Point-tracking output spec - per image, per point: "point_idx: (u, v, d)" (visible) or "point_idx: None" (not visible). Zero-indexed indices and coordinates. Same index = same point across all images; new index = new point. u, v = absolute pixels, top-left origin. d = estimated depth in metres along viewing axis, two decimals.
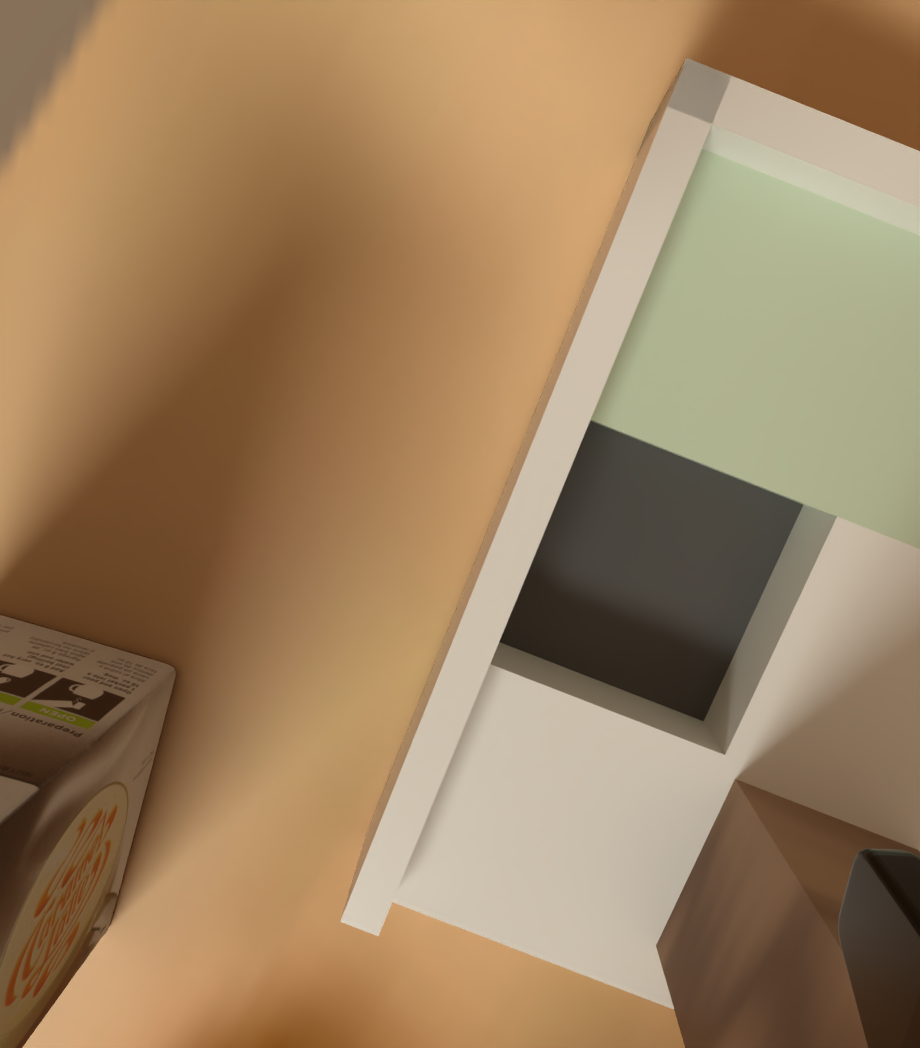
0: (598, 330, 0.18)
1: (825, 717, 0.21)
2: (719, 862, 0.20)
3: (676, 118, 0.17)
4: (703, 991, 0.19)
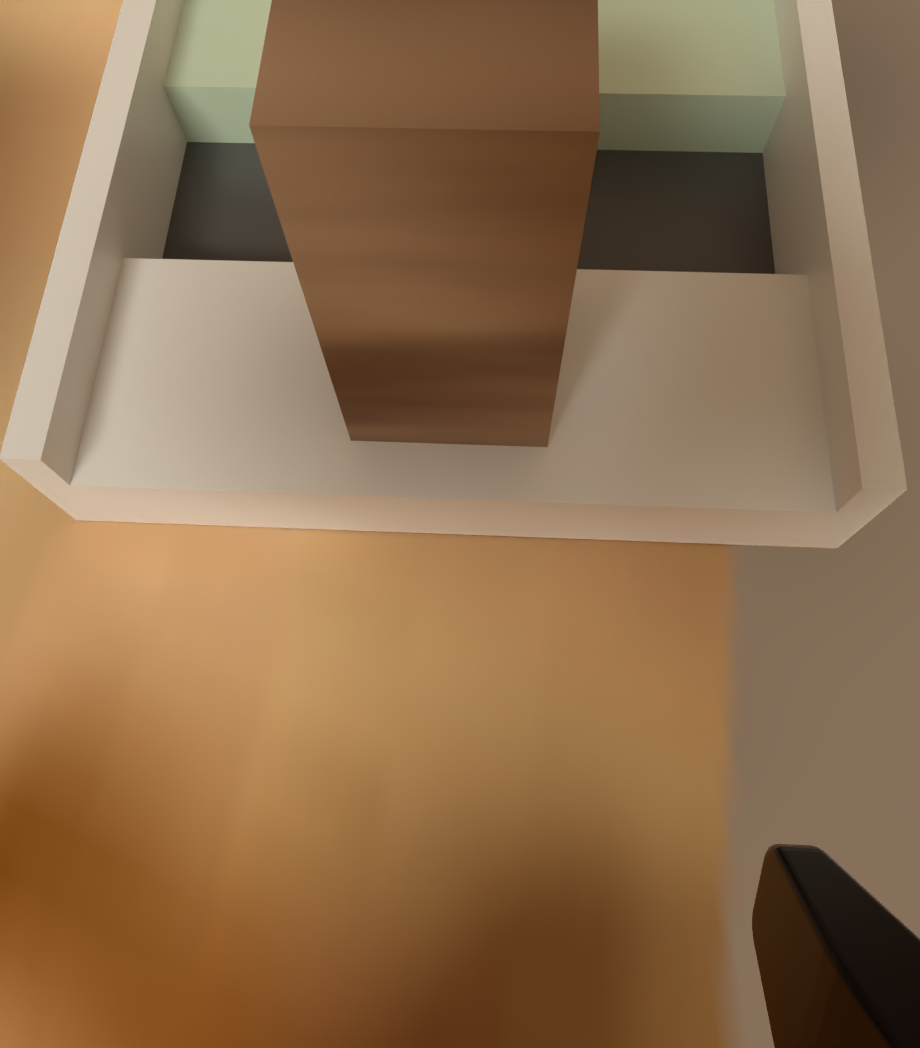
0: None
1: None
2: None
3: None
4: None
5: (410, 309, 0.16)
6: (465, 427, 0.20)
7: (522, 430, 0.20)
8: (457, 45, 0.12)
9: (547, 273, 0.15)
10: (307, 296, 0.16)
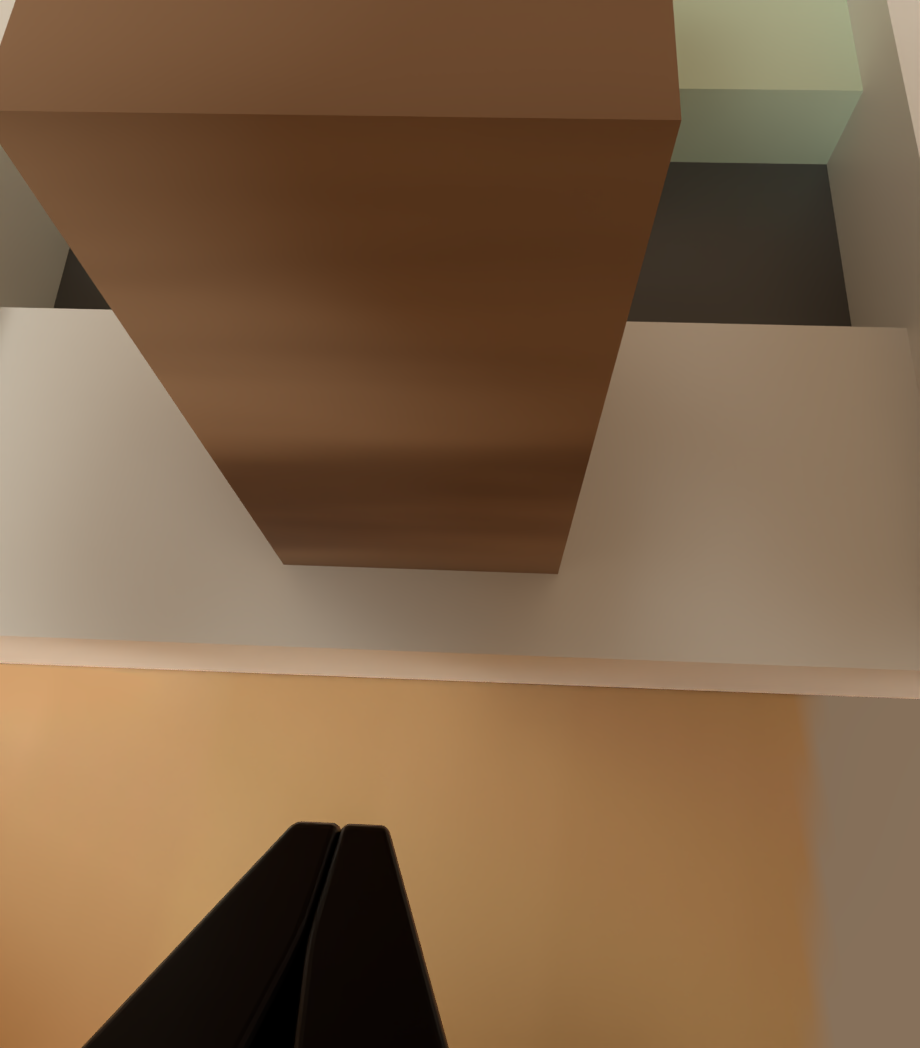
0: None
1: None
2: None
3: None
4: None
5: (343, 415, 0.10)
6: (442, 553, 0.14)
7: (523, 557, 0.14)
8: None
9: (566, 366, 0.09)
10: (175, 396, 0.10)
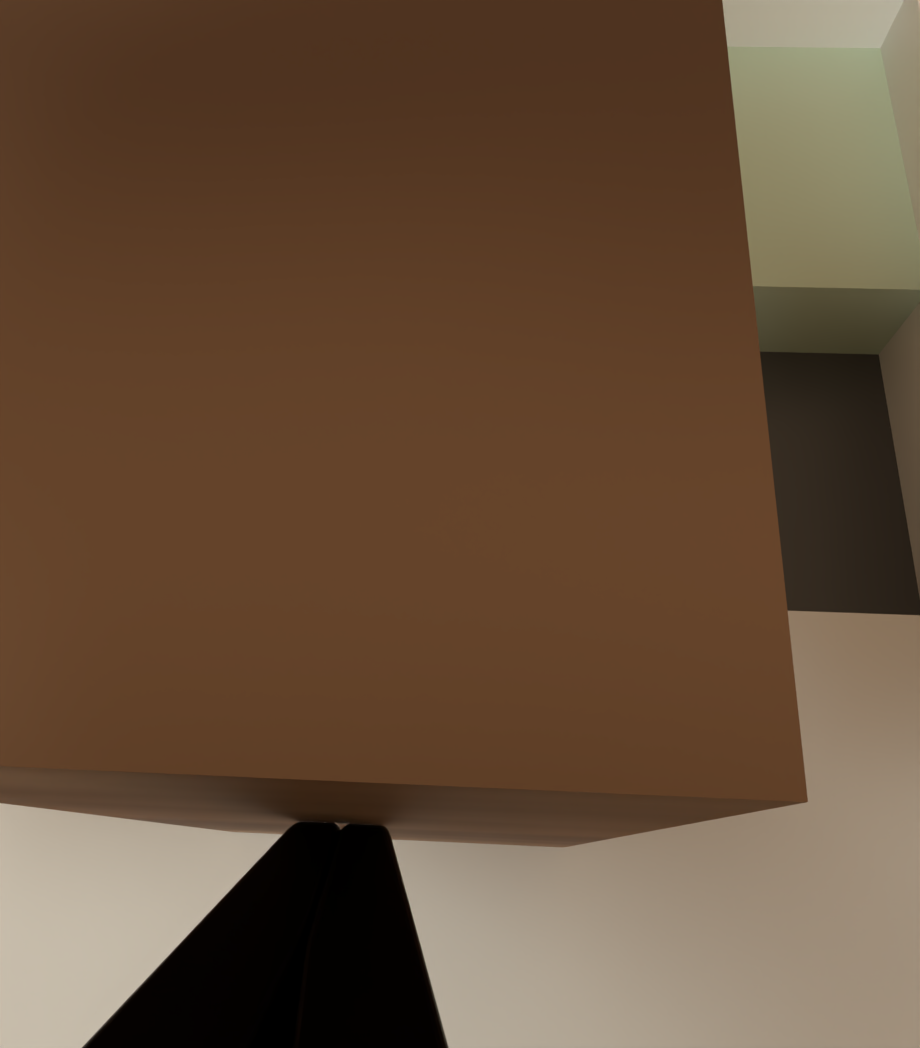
0: None
1: None
2: None
3: None
4: None
5: (275, 819, 0.07)
6: (422, 839, 0.12)
7: (521, 843, 0.12)
8: (310, 408, 0.04)
9: (581, 827, 0.06)
10: None
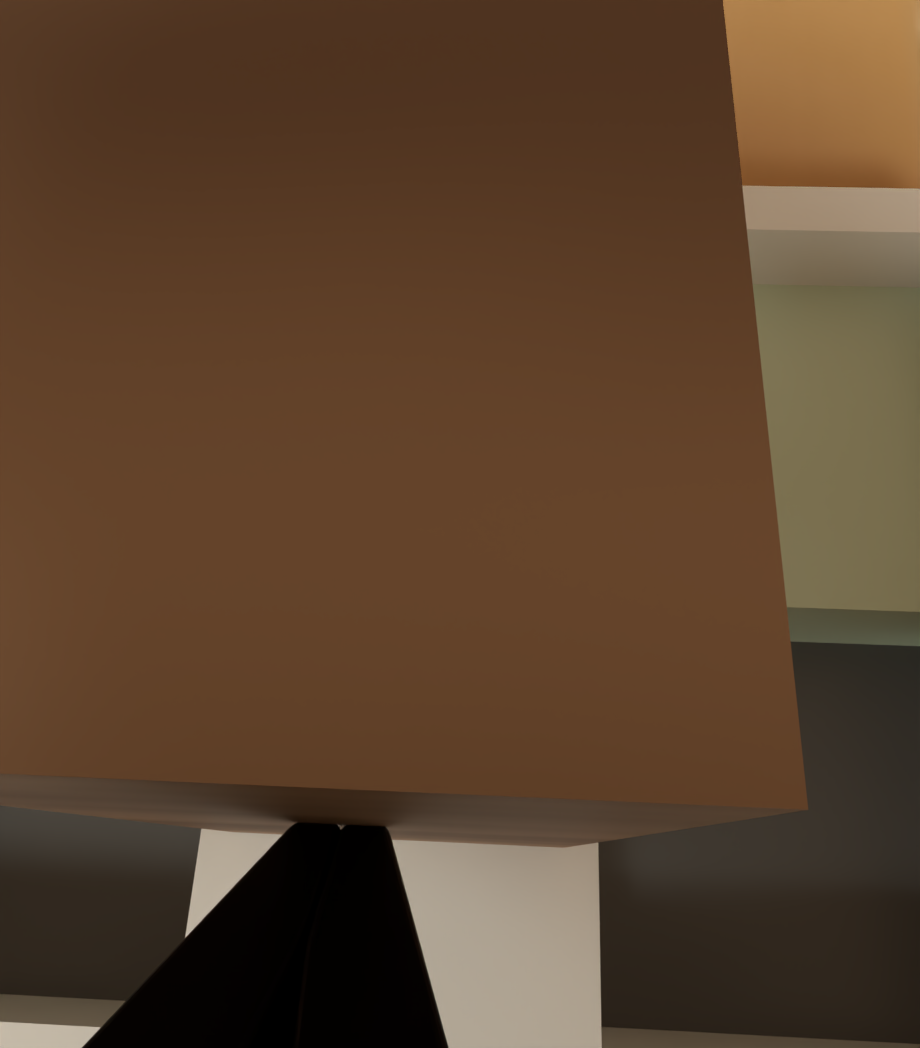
0: None
1: None
2: None
3: None
4: None
5: (276, 822, 0.07)
6: (422, 840, 0.12)
7: (522, 844, 0.12)
8: (310, 418, 0.04)
9: (582, 831, 0.06)
10: (44, 810, 0.07)
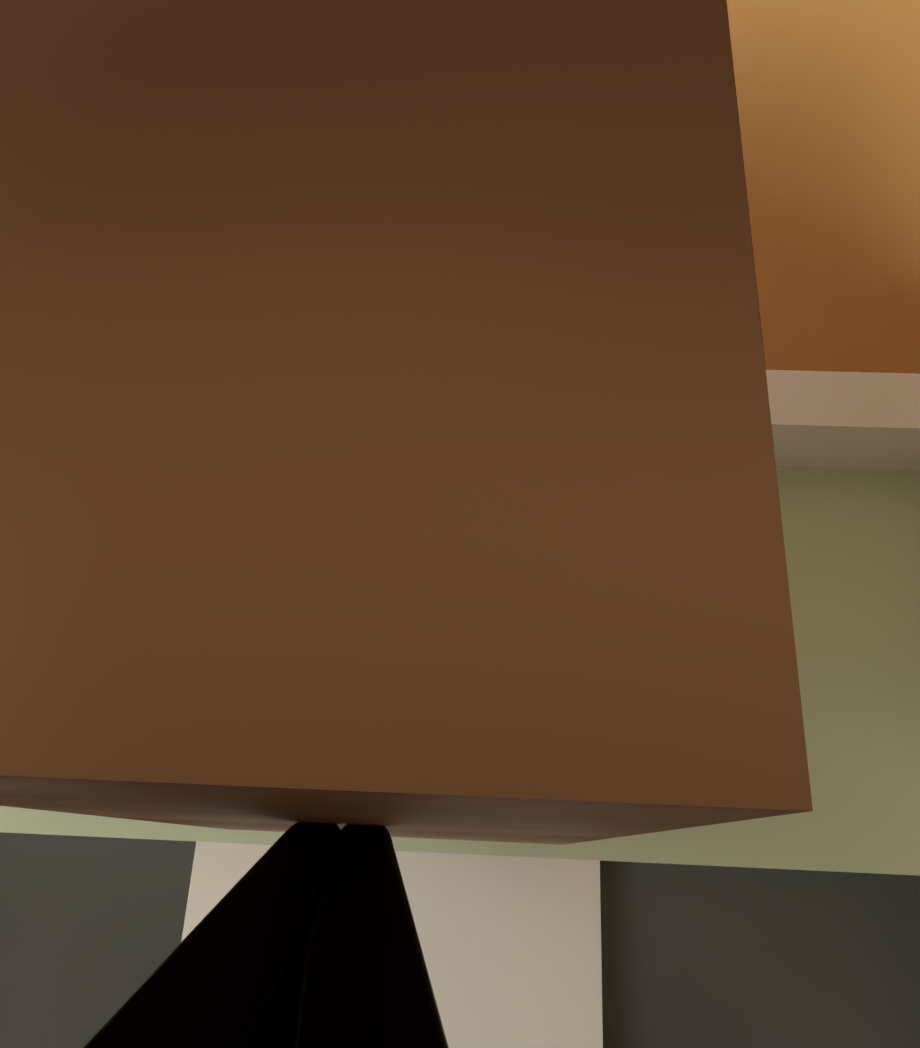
0: None
1: None
2: None
3: None
4: None
5: (270, 820, 0.07)
6: None
7: None
8: (296, 405, 0.04)
9: (579, 828, 0.06)
10: None
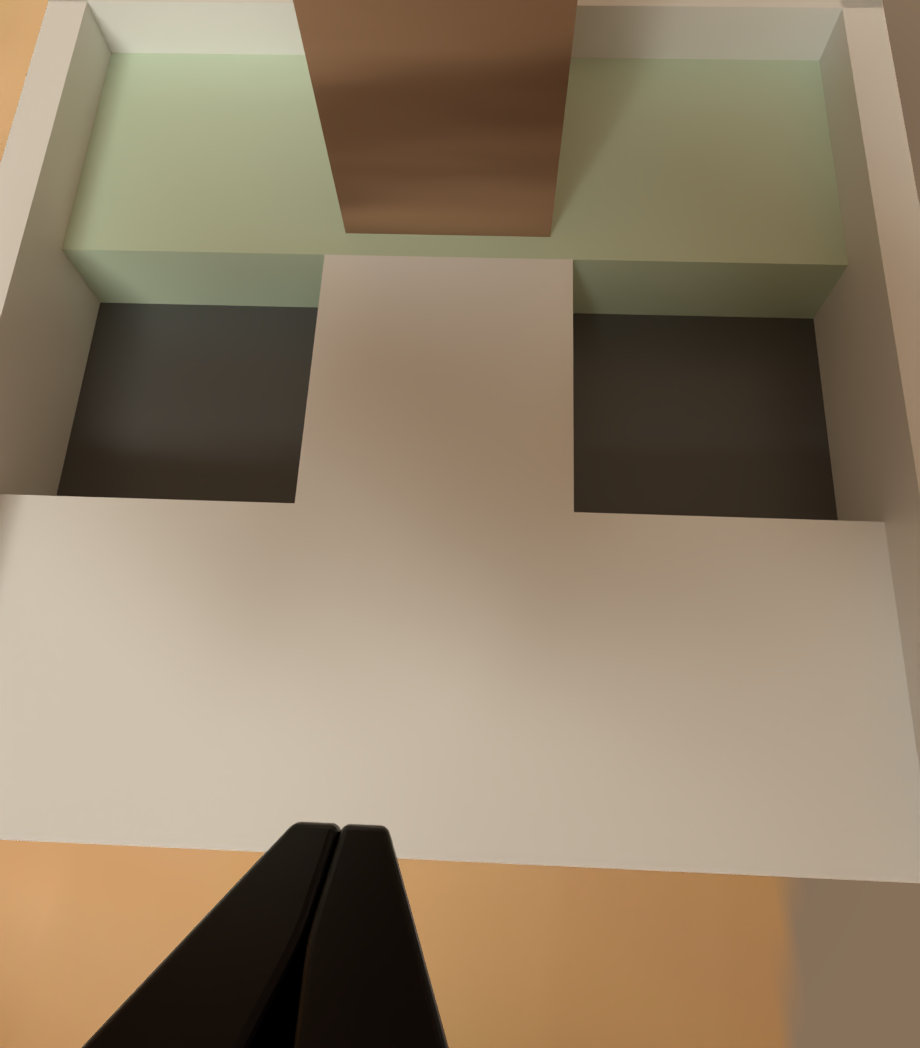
0: (23, 143, 0.20)
1: (387, 430, 0.19)
2: None
3: (57, 5, 0.21)
4: None
5: (406, 23, 0.15)
6: (465, 209, 0.19)
7: (524, 212, 0.19)
8: None
9: None
10: (297, 5, 0.15)
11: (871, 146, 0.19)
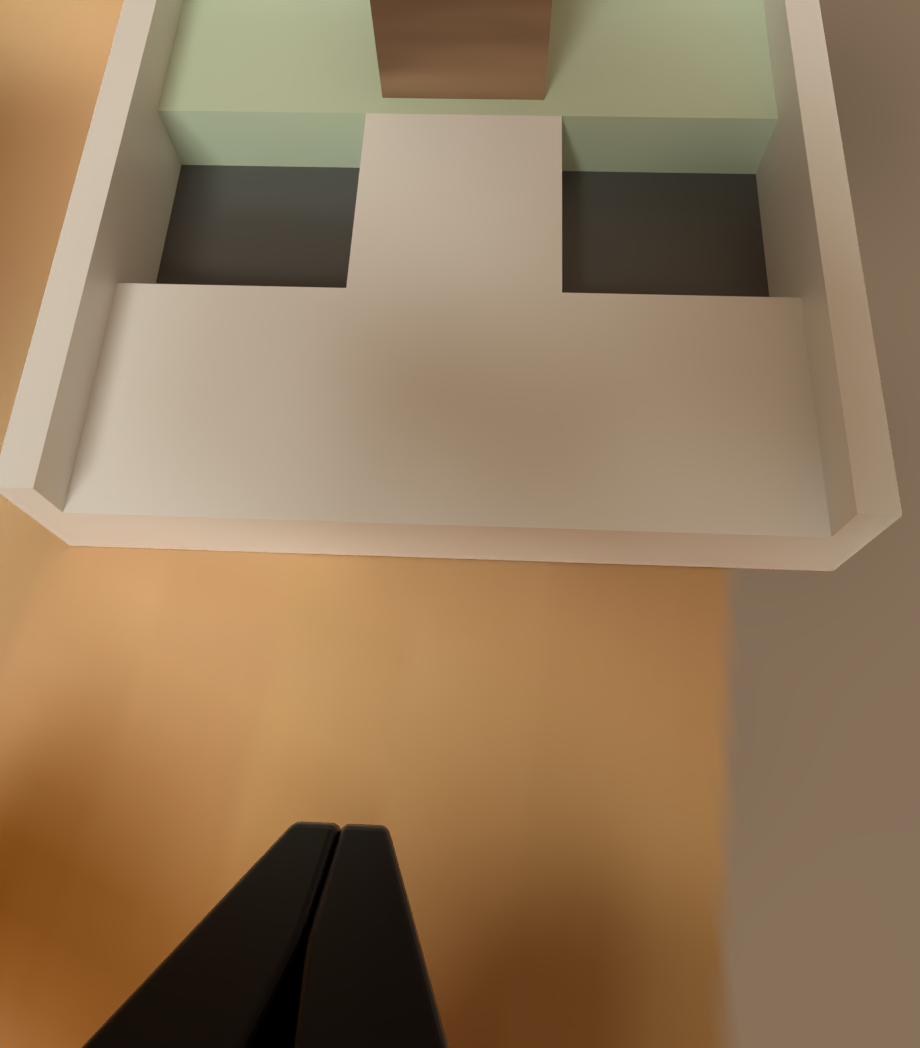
0: (131, 23, 0.25)
1: (417, 236, 0.24)
2: None
3: None
4: None
5: None
6: (477, 73, 0.25)
7: (523, 75, 0.25)
8: None
9: None
10: None
11: (793, 23, 0.25)
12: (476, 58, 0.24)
